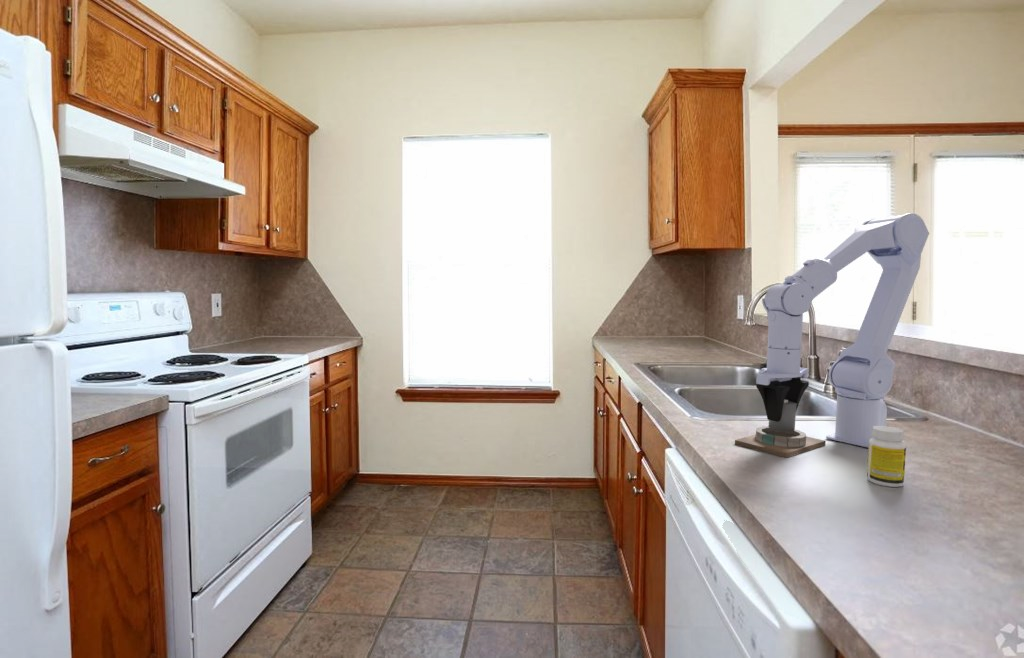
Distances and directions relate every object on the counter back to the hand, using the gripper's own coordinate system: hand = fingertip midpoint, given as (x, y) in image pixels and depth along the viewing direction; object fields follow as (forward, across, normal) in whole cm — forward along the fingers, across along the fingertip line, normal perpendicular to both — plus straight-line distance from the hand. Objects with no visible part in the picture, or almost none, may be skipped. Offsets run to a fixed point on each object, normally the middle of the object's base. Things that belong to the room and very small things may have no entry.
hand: (781, 418), depth 103 cm
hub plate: (+5, 0, 0) cm, 5 cm away
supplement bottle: (+5, +6, +20) cm, 22 cm away
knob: (+2, 0, 0) cm, 2 cm away
